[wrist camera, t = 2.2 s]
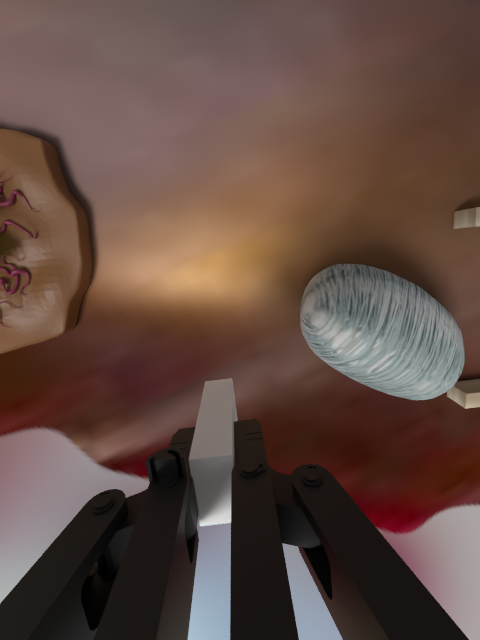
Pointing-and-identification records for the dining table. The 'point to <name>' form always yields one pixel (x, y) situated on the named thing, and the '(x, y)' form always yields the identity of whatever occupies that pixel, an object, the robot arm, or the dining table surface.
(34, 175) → the plant
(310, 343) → the streaked grey egg
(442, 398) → the dining table surface
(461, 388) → the bay
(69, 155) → the dining table surface
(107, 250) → the dining table surface
